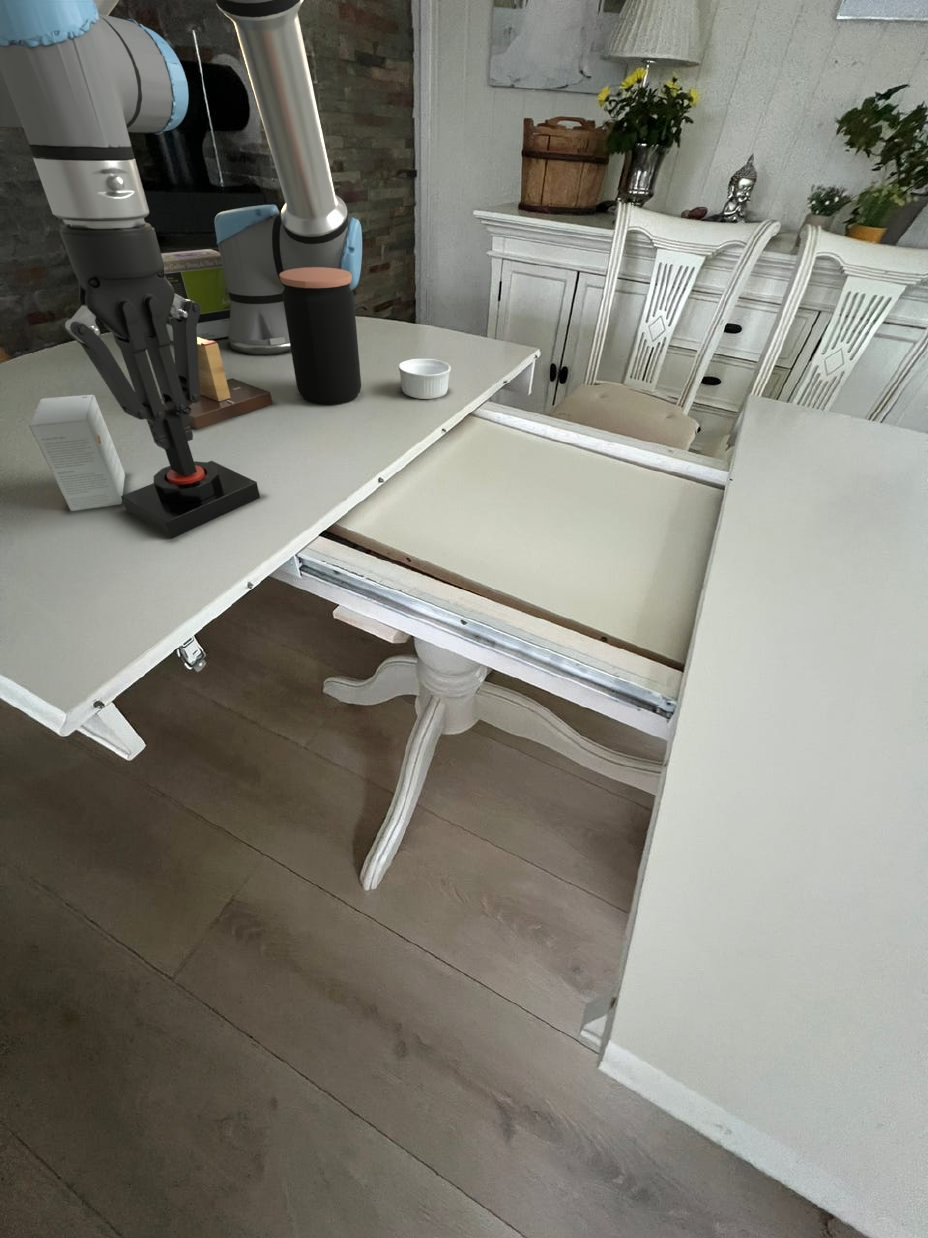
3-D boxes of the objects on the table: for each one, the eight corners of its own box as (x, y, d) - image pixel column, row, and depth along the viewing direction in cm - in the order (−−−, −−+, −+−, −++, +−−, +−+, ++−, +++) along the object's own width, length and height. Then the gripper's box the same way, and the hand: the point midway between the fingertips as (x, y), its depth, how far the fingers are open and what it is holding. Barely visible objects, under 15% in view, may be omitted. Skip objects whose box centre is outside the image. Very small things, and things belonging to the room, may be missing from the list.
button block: (215, 476, 74) (207, 446, 71) (260, 498, 70) (253, 468, 67) (127, 512, 66) (114, 481, 64) (171, 539, 62) (159, 507, 60)
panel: (234, 389, 97) (231, 376, 96) (272, 404, 93) (270, 390, 92) (159, 413, 89) (154, 399, 87) (197, 430, 84) (193, 415, 83)
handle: (197, 393, 90) (182, 337, 85) (209, 389, 91) (195, 334, 86) (218, 401, 88) (204, 344, 82) (230, 397, 89) (217, 341, 84)
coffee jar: (368, 386, 100) (359, 268, 89) (353, 408, 92) (341, 282, 81) (309, 382, 101) (292, 265, 89) (289, 404, 93) (268, 278, 81)
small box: (77, 481, 71) (39, 397, 65) (126, 475, 73) (94, 392, 66) (69, 512, 66) (26, 424, 59) (122, 505, 67) (86, 418, 61)
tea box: (230, 324, 128) (212, 247, 118) (248, 335, 122) (231, 254, 112) (160, 334, 120) (136, 252, 111) (176, 346, 114) (152, 261, 105)
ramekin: (440, 381, 104) (440, 356, 101) (457, 397, 98) (458, 371, 95) (393, 385, 101) (392, 360, 98) (408, 403, 95) (407, 376, 92)
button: (194, 475, 68) (190, 461, 67) (214, 485, 67) (210, 471, 66) (164, 487, 66) (159, 473, 65) (184, 498, 64) (179, 484, 63)
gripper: (47, 232, 44) (149, 503, 59) (197, 220, 52) (252, 461, 67) (4, 222, 47) (111, 481, 63) (151, 212, 55) (213, 443, 71)
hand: (184, 470), depth 65 cm, fingers closed
